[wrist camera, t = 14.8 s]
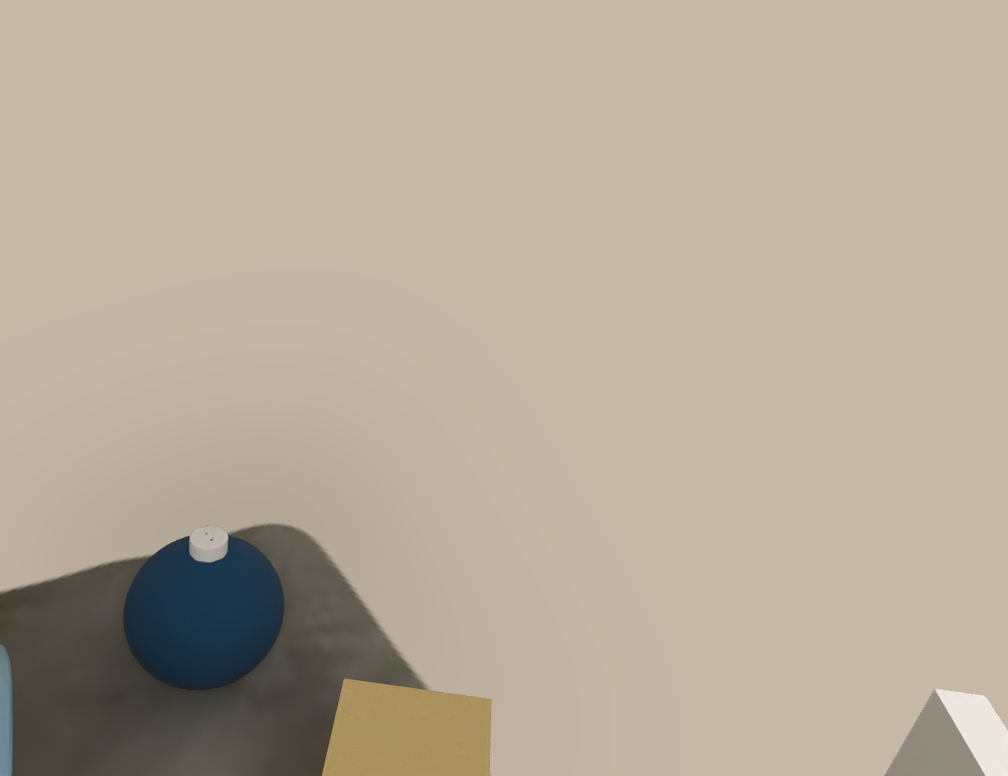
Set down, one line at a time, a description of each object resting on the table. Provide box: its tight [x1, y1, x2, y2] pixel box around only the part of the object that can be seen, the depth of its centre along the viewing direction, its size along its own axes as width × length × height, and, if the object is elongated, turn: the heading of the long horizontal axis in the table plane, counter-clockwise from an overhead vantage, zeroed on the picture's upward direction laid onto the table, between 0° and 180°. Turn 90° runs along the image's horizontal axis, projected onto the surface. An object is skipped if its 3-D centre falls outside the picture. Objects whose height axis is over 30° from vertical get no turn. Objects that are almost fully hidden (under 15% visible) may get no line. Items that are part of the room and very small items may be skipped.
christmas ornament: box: [124, 525, 284, 690], centre depth 47 cm, size 8×8×10 cm
